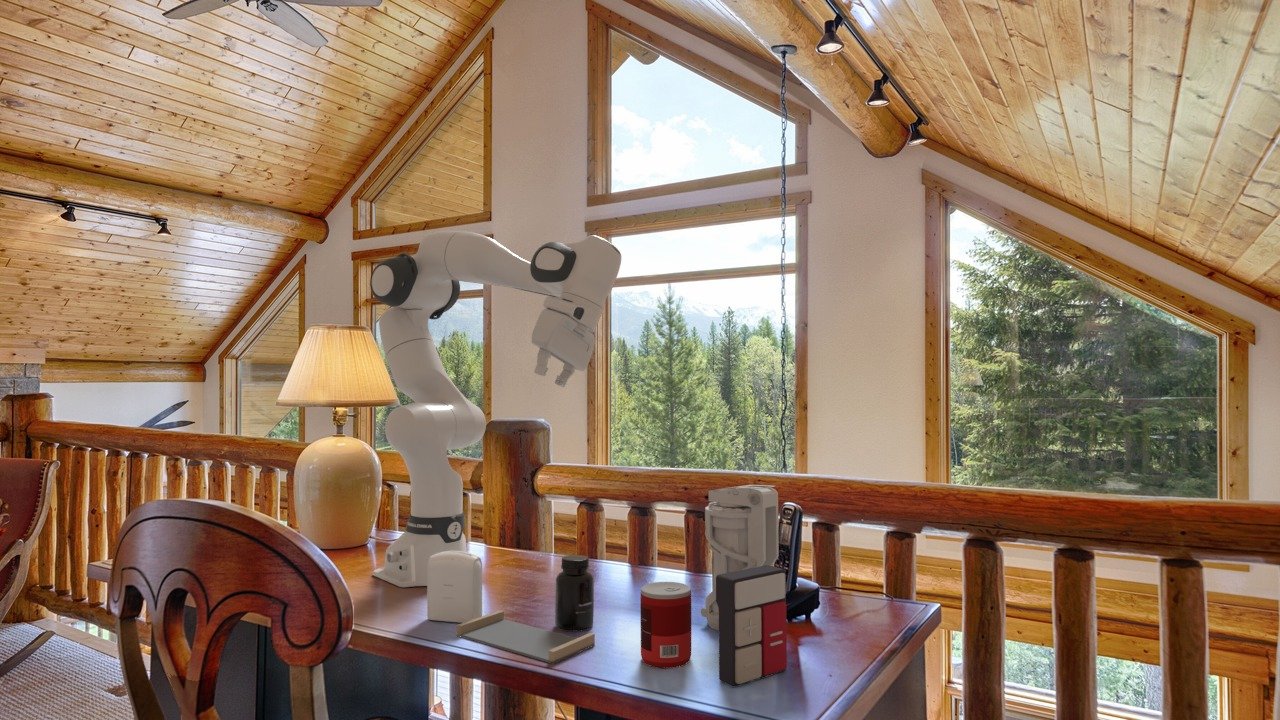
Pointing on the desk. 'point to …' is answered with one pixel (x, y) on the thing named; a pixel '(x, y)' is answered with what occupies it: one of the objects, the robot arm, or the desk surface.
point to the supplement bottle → (574, 594)
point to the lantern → (740, 534)
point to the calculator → (751, 624)
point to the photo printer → (454, 587)
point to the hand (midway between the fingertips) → (549, 380)
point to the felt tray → (523, 638)
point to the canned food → (666, 624)
